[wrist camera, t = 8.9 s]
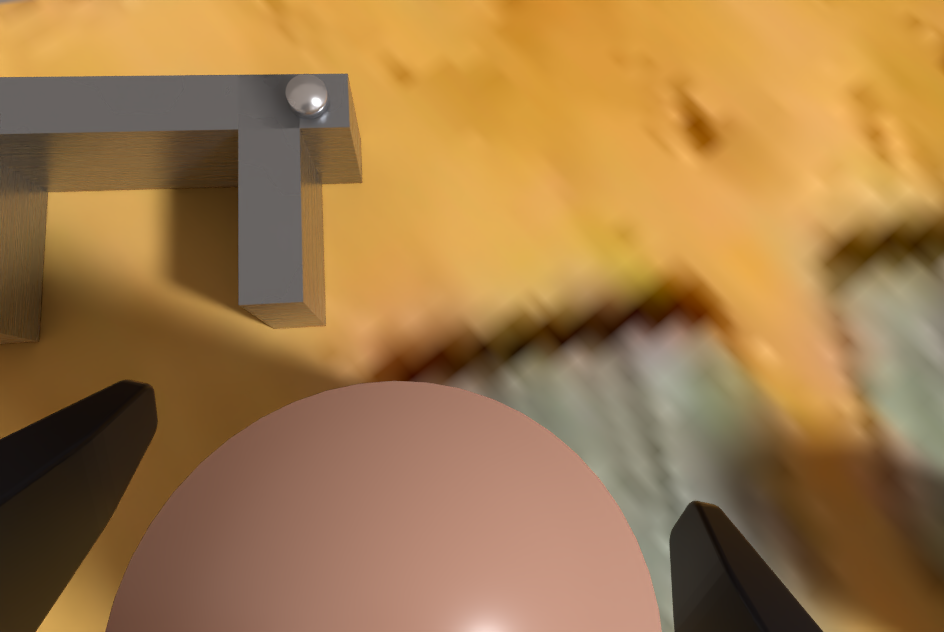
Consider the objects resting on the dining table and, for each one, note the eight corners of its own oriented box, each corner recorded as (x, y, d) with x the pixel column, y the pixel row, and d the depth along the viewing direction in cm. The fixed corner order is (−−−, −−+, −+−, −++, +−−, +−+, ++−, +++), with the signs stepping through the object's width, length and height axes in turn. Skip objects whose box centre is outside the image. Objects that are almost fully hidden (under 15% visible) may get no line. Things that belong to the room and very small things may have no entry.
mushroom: (470, 601, 16) (607, 1055, 5) (303, 561, 16) (0, 929, 4) (509, 432, 17) (703, 450, 6) (352, 392, 17) (209, 324, 5)
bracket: (367, 323, 17) (354, 295, 14) (-67, 347, 16) (-215, 323, 12) (360, 138, 19) (345, 64, 15) (-48, 147, 17) (-180, 69, 13)
